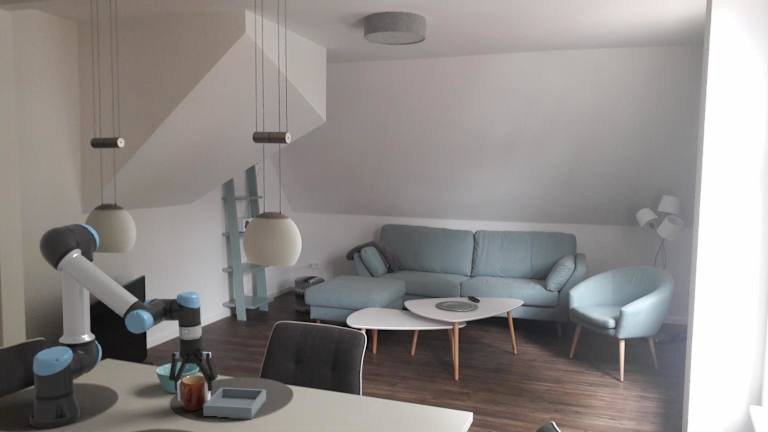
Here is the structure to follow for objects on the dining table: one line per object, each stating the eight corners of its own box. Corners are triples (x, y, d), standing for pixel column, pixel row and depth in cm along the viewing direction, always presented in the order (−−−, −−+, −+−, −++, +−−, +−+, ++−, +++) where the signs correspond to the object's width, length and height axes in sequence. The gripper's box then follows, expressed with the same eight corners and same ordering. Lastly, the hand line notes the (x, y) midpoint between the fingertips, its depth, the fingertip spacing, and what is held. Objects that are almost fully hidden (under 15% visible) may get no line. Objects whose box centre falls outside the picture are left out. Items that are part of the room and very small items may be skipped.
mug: (188, 401, 231) (189, 373, 230) (210, 404, 229) (212, 377, 228) (171, 414, 219) (172, 385, 218) (194, 418, 217) (195, 389, 216)
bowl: (149, 388, 244) (149, 367, 244) (188, 378, 255) (188, 358, 254) (166, 400, 233) (166, 378, 232) (206, 389, 243) (206, 368, 243)
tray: (203, 416, 219) (203, 405, 218) (221, 397, 235) (221, 387, 235) (251, 419, 217) (251, 407, 216) (266, 400, 234) (266, 389, 233)
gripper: (155, 340, 219) (159, 403, 221) (217, 340, 216) (221, 404, 218) (165, 334, 226) (169, 395, 228) (225, 333, 224) (228, 395, 226)
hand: (194, 399), depth 223 cm, fingers open, 9 cm apart
